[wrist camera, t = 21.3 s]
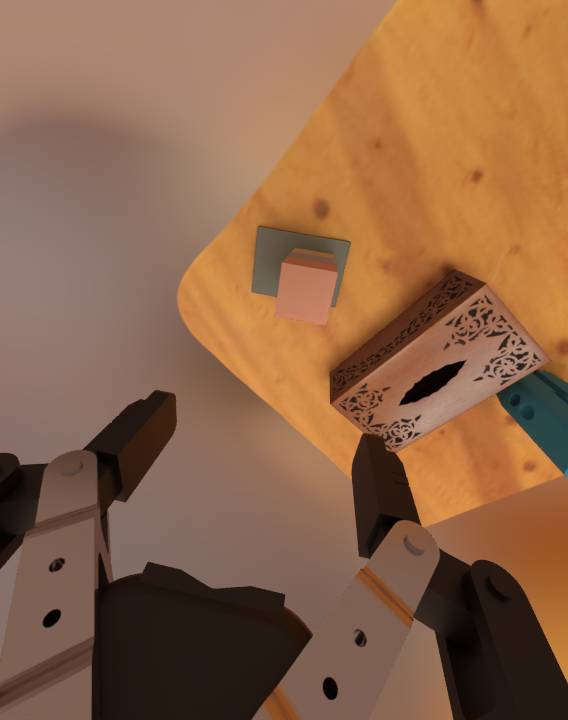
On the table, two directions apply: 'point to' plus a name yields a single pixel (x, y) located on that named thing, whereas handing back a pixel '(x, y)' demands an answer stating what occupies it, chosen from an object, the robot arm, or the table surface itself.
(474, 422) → the table surface
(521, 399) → the block
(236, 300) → the table surface
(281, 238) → the felt mat
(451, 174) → the table surface
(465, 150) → the table surface
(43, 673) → the robot arm
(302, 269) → the terracotta block
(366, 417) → the tissue box cover
